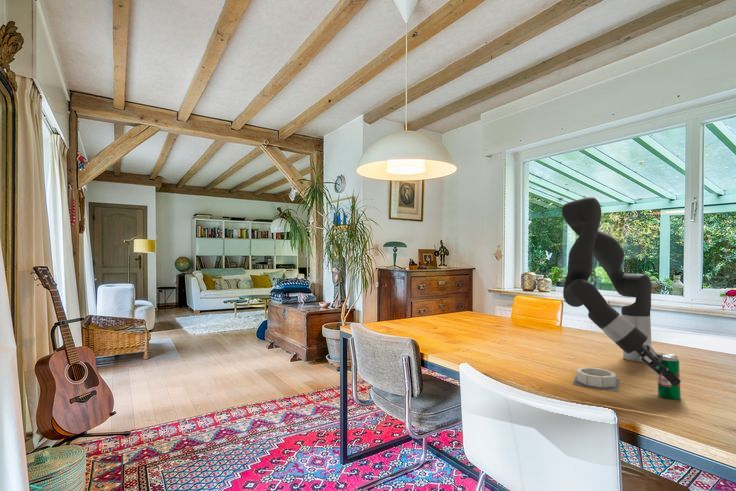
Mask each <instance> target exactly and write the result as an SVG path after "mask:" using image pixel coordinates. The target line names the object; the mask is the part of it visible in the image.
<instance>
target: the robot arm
mask: <svg viewBox="0 0 736 491" xmlns="http://www.w3.org/2000/svg"><path fill="white" fill-rule="evenodd" d="M601 207H602V206H601V204H600V202H599V201H598V199H597V198H596V197H594V196H588V197H584V198H579V199H576V200H573V201H569V202H567V203H564V204H563V206H562V208H561V214H562V218H563V219H564V221H565V223H566V224H567V225H568V226H569V227H570V229H571V230H572V231H573V232H574V233H575V234H576V235H577V236H578V238H577V239H576V240H575V241H574V243H573V244H572V246H571V248H570V250H569V253H568V260H567V272H566V277H565V281H564V284H563V285H564V286H563V290H562V296H563V299H564V301H565V303H566V304H567V305H568V306H570V307H574V308H579V307H581V306H584V307H585V308H586V309H587V310H588V314H587V316H588V318H589V320H590V321H592V323H594V324H595V325H596V326H597V328H599V329H601V331H603V333H604V334H605V335H606V337H607V338H608V339H610V340H612V342H613V343H614V344H616V345H617V346H618V347H619V349H621V350H622V358H623V360H624V359H625V360H627V361H632V362H639V363H645V365H647V366H648V367H649V368H650V369H652V370H653V371H654V372H655V373H656V375H657V374H659V375H663V376H664V377H665V378H666V379H667V380H668V381H669V382H670V383H671V384H673V385H674V386H676V385H678V384H679V383H680V384H681V383H682V381H681V378H680V379H679V378H678V377H676V376H675V375H674V374H673V373H672V372H671V371H670V370H669V369H668V368H667V367H666V366H665V365H664V364H663V361H662V360H661V359H660V358H659V357H658V354H659V353H657V352H656V351H655V350H654V348H652V346H653V345H652V326H651V325H652V324H651V320H652V319H651V309H652V282H651V278H650V276H649V275H648V274H645V273H626V272H624V271H623V269H622V267H621V266H622V264H623V262H624V259H625V251H624V249H623V248H622V246H621V245H620V243H619V242H618V241H617V240H616V238H615V237H614V236H612V235H611V234H609V233H607V232H605V231H602V230H599V229H600V228H599V227H600V223H601V218H602V208H601ZM593 258H595V260H596V261H597V262H598V263H599V265H600V266H601V268H602V269H603V271H604V273H606V275H607V276H608V278H609V280H610V282H611V284H612V286H613V288H614V289H615V291H616V292H617V294H618V295H620V296H622V297H626V298H627V297H628V298H635V301H634V302H633V303H631V304H628V305H624V306H622V307H621V313H620V312H618V311H617V310H616V309H615V308H613V307H612V306H611V305H610V304H609V303H608V302H607V300H606V298H604V296H603V295H602V294H601V292H600V291H599V290H598V289H597V287H596V286H595V285H594V284H593V283H592V282H589V279H590V277H591V275H592V272H593V261H594V260H593ZM657 360H658V361H657ZM658 365H659V366H661V368H660V369H657V366H658Z"/></svg>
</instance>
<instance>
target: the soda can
mask: <svg viewBox="0 0 736 491" xmlns="http://www.w3.org/2000/svg"><path fill="white" fill-rule="evenodd" d="M657 354H658V357H659V358H660V359H661V360H662V361H663V364H664V365H665V366H666V367H667V368H668V369H669V370H670V371H671V372H672V373H673V374H674V375H675V376H676V377H678V378H679V379H680V380H681V370H680V369H681V368H680V359H679V358H678V355H675V354H671V353H663V352H662V353H657ZM657 361H658V360H657ZM660 368H661V366H659V365H658V366H657V369H660ZM656 378H657V395H658V396H659V397H660V398H663V399H666V400H671V401H678V400H679V401H680V400H681V398H682V396H681V394H682V393H681V391H682V390H681V382H680V383H679V384H678V385H676V386H674V385H673V384H671V383H670V382H669V381H668V380H667V379H666V378H665V377H664V376H663V375H659V374H657V373H656Z"/></svg>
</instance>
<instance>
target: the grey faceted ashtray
mask: <svg viewBox="0 0 736 491" xmlns="http://www.w3.org/2000/svg"><path fill="white" fill-rule="evenodd" d="M576 375H577V381H579V382H581V383H583V384H586V385H590V386H596V387H604V388H605V387H615V386H616V379H617V376H616V372H615V371H610V370H608V369H605V368H598V367H592V366H591V367H590V366H589V367H579V368H577V370H576Z"/></svg>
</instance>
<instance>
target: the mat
mask: <svg viewBox="0 0 736 491" xmlns="http://www.w3.org/2000/svg"><path fill="white" fill-rule="evenodd" d="M575 375H576V376H575V377H574V380H573V382H572V385H573V386H578V387H585V388H591V389H598V390H604V391H610V392H616V393H618V392H619V388H620V378H616V386H615V387H605V388H604V387H596V386H590V385H586V384H583V383H581V382H579V381H577V374H575Z"/></svg>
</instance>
